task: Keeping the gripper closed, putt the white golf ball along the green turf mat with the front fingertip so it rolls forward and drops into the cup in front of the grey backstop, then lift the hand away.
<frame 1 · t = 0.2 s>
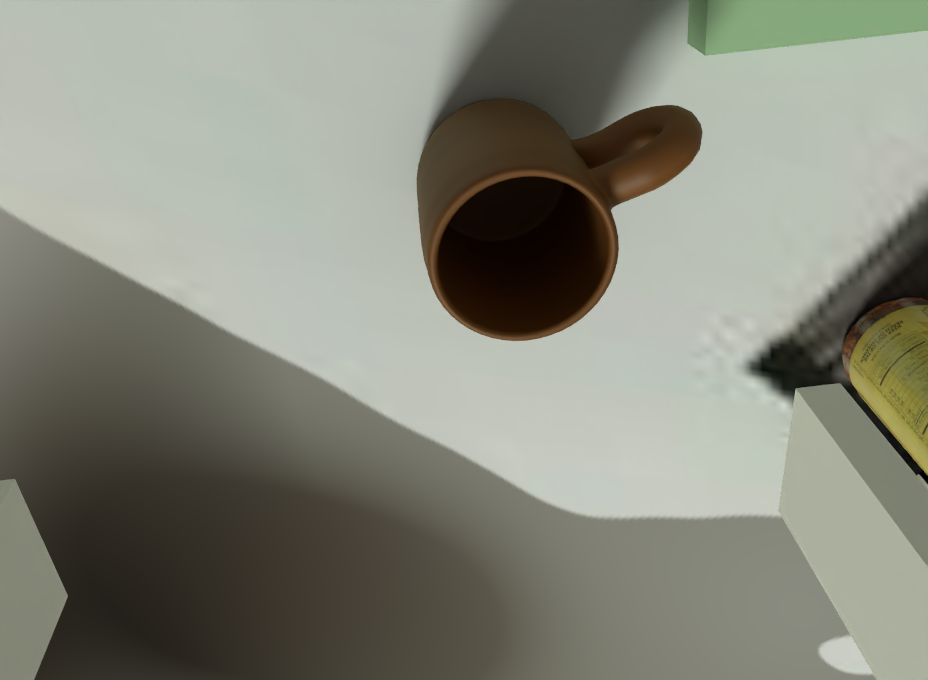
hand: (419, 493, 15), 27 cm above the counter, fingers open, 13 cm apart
mug: (534, 146, 40), on the counter
sauce bottle: (887, 335, 48), on the counter
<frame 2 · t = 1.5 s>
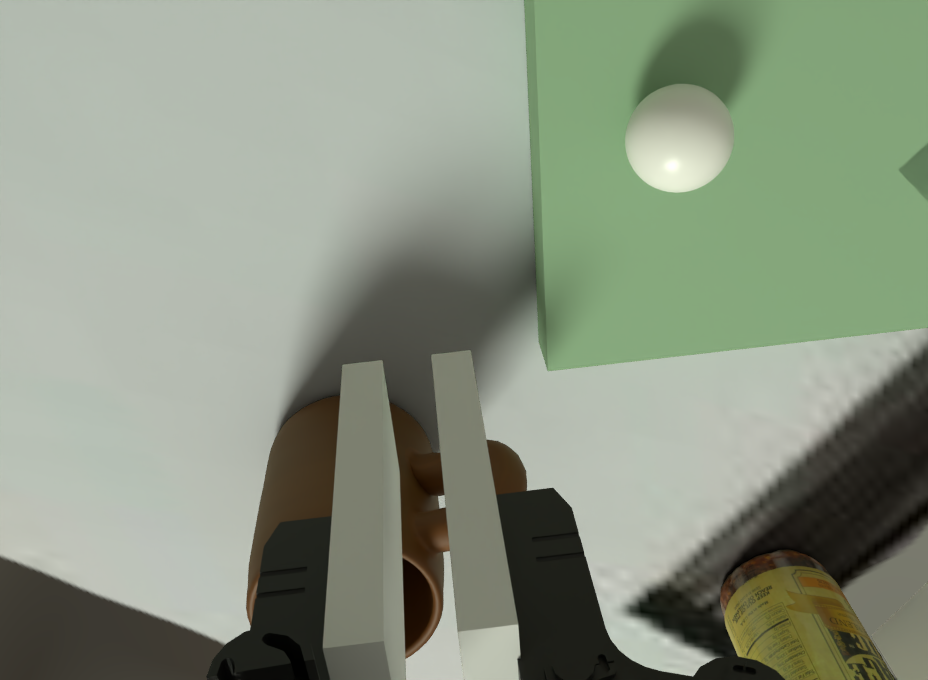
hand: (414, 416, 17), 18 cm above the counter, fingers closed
mug: (391, 429, 40), on the counter
green: (851, 83, 33), on the counter
ball: (678, 138, 29), point 4 cm above the counter, touching green
sauce bottle: (766, 579, 47), on the counter
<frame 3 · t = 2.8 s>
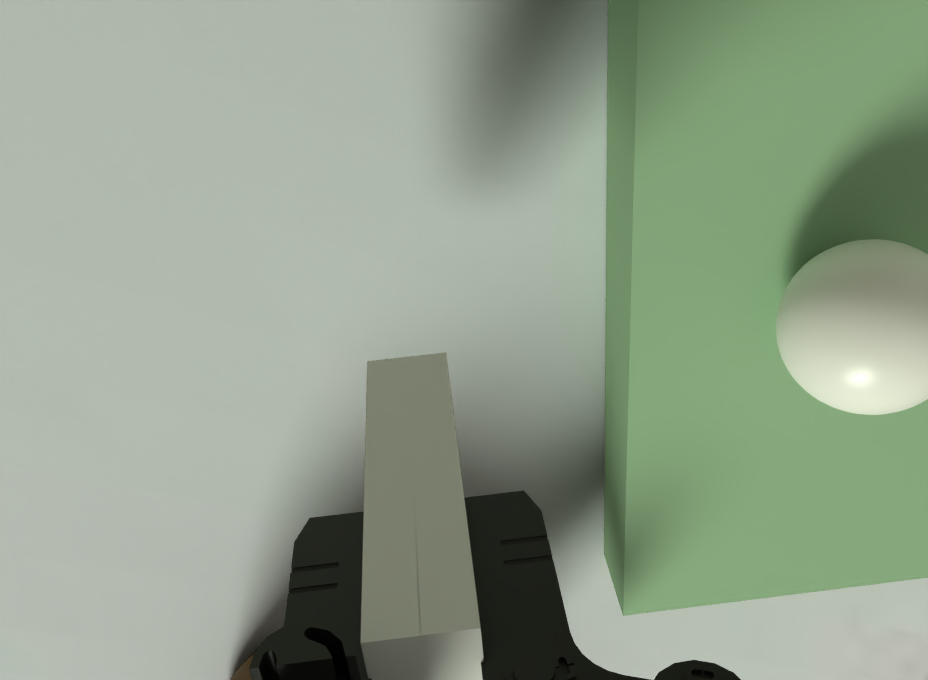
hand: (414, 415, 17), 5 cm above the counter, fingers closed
ball: (868, 327, 18), point 4 cm above the counter, touching green
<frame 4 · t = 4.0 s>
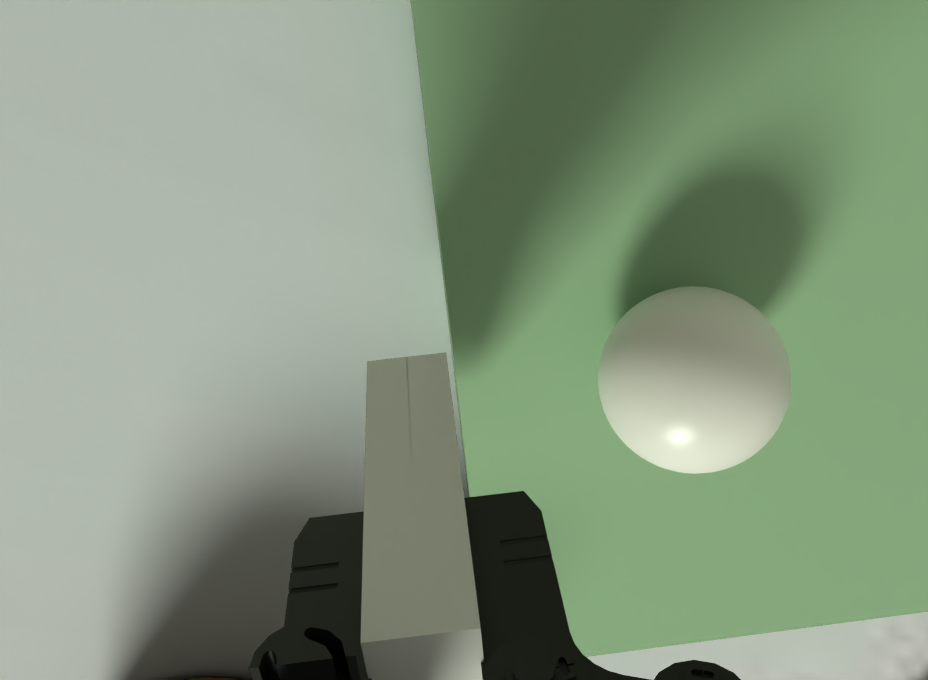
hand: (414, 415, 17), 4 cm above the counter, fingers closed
ball: (692, 379, 17), point 4 cm above the counter, touching green
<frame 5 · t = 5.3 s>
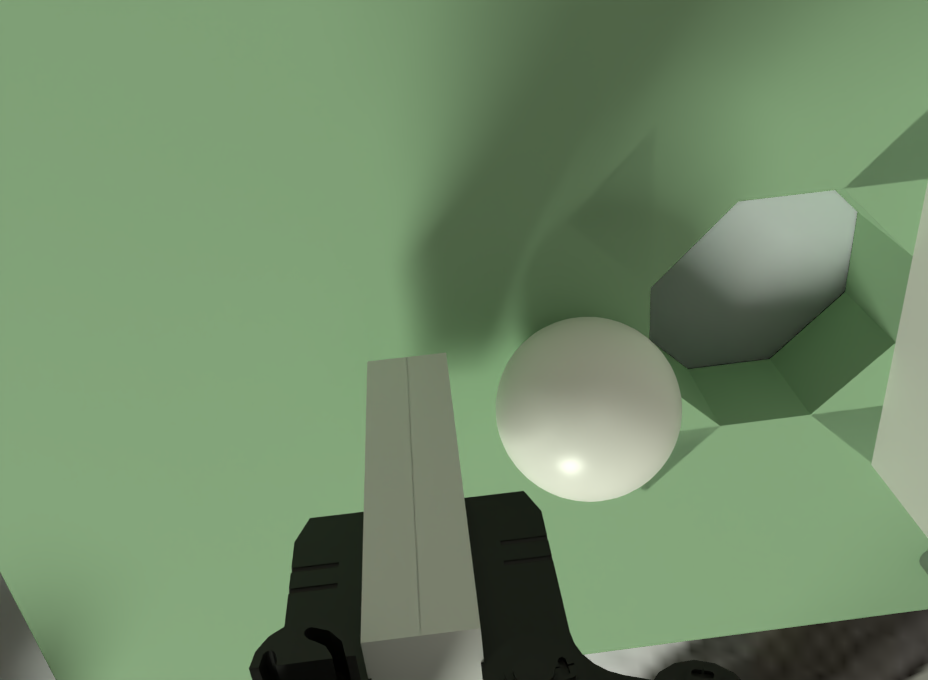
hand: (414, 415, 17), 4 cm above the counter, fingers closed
green: (506, 294, 20), on the counter
ball: (587, 408, 17), point 4 cm above the counter, tilted 76°, touching green
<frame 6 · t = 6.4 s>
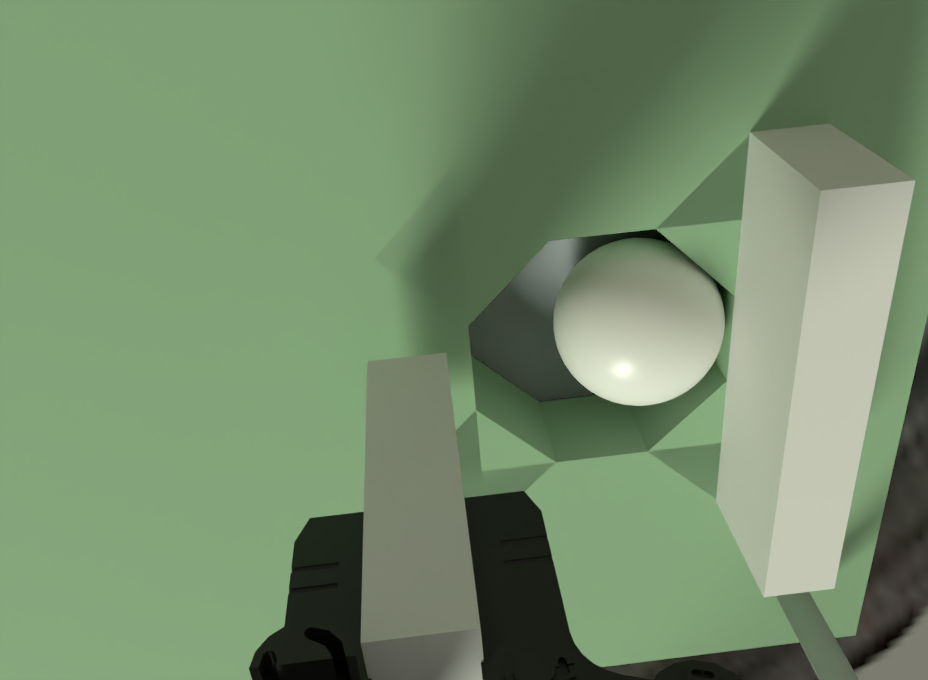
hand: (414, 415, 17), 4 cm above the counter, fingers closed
green: (345, 327, 20), on the counter
ball: (637, 321, 19), point 2 cm above the counter, tilted 98°
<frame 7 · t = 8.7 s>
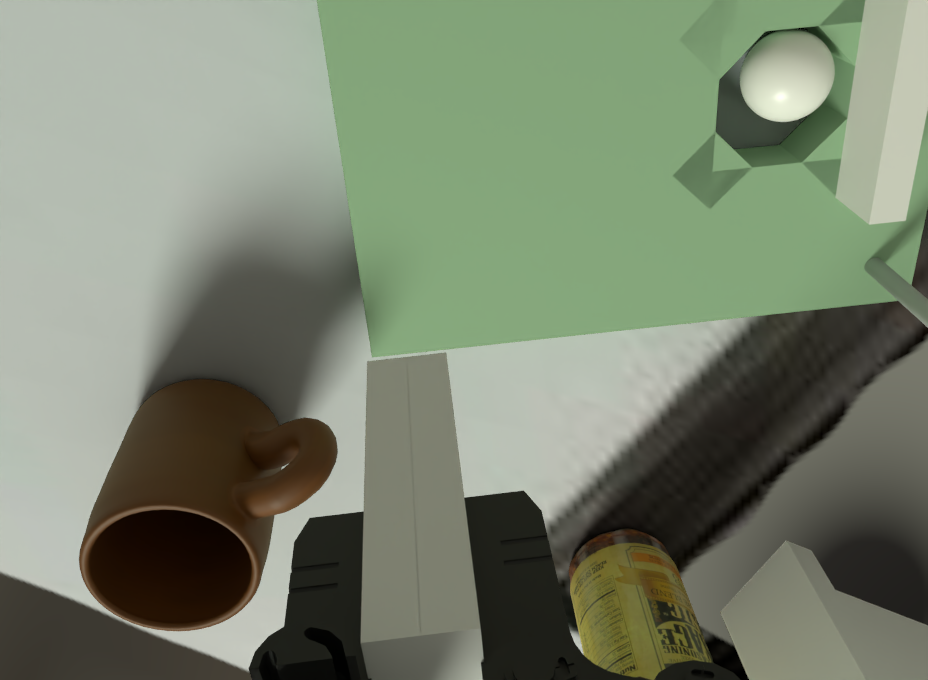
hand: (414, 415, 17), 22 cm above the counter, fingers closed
paper towel holder: (804, 676, 58), on the counter
mug: (244, 412, 43), on the counter
green: (634, 97, 37), on the counter
ball: (786, 76, 35), point 2 cm above the counter, tilted 76°
sauce bottle: (614, 557, 51), on the counter
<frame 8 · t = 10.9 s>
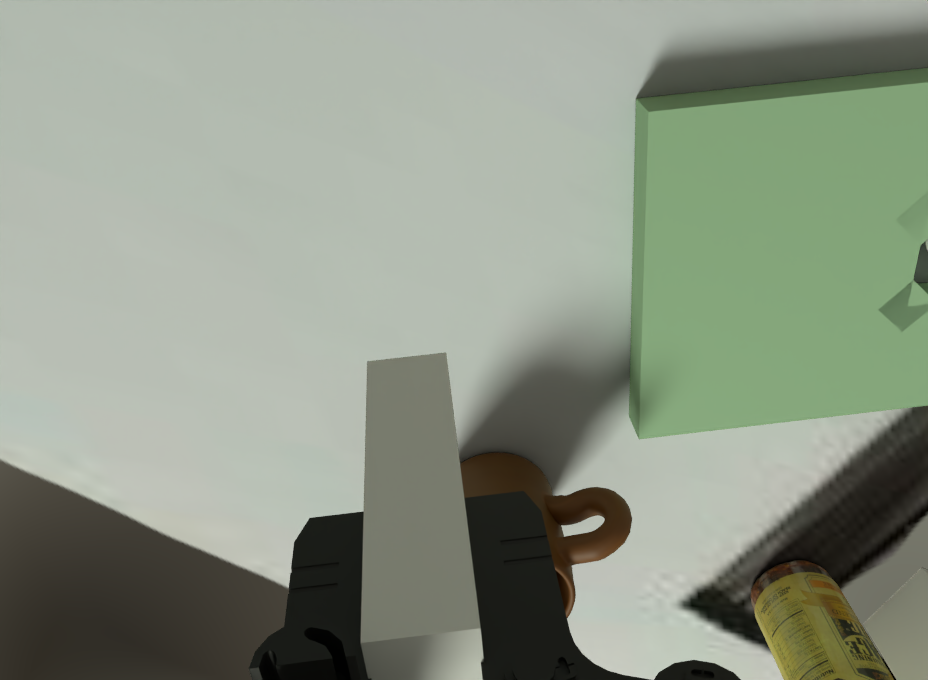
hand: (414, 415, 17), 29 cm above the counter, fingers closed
paper towel holder: (923, 674, 71), on the counter
mug: (521, 475, 56), on the counter
green: (847, 249, 49), on the counter
sauce bottle: (785, 582, 64), on the counter
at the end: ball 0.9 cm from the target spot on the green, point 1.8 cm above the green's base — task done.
